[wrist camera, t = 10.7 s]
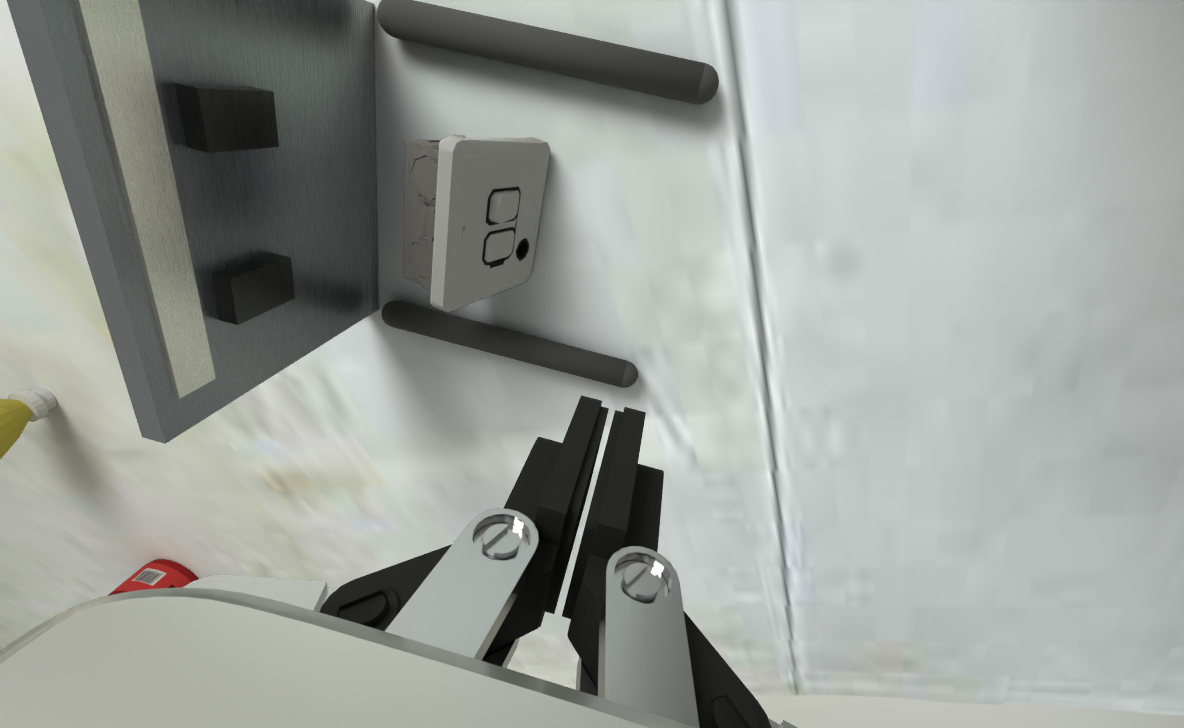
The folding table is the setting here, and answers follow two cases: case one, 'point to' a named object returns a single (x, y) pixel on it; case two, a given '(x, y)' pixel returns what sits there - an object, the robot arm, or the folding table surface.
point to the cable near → (549, 50)
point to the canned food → (157, 577)
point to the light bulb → (22, 413)
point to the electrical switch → (472, 215)
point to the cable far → (510, 344)
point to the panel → (213, 182)
